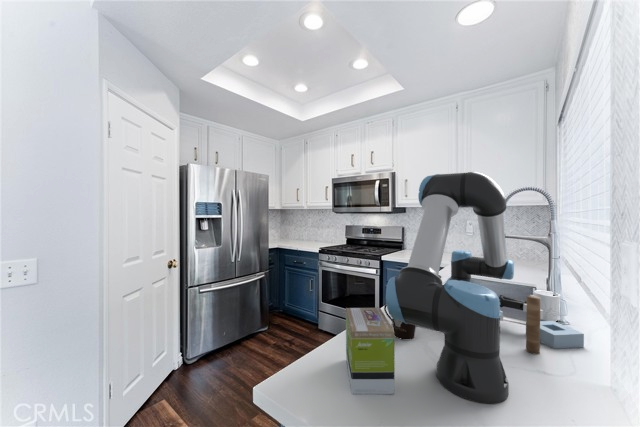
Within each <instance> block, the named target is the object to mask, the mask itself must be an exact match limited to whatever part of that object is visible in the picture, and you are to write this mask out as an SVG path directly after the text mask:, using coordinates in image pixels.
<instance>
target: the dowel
mask: <svg viewBox="0 0 640 427" xmlns="http://www.w3.org/2000/svg"><path fill="white" fill-rule="evenodd" d="M526 301H527V313H525V314H526V317H525V318H526V321H525V336H526V338H525V339H526V340H525V346H526V347H525V350H526V351H527V352H528V353H530V354H533V355H540V353H541V350H540V349H541V341H540V321H541V320H540V298H539V297H536V296H534V295H526Z"/></svg>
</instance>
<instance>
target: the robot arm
mask: <svg viewBox="0 0 640 427" xmlns="http://www.w3.org/2000/svg"><path fill="white" fill-rule="evenodd" d="M418 203H419V205H420V206H421V208H422V209H423V213H422V218H421V220H420V224H419V227H418V230H417V234H416V237H415V240H414V243H413V247H412V251H411V253H410V257H409V260H408V263H407V266H404V267H402V268H401V269H400V272H399V274H398V277H397V276H392V277H390V279H389V280H388V281H387V283H386V288H385V303H386V304H387V306H386V310H387V313H388V315H389V316H390V317H391V318H393V319H395V320H398V321H401V322H404V323H405V324H411V325H415V326H416V327H419V328H424V329H427V330H430V331H434V332H439V333H442V334H444V335H443V336H444V339H443V340H444V343H443V347H442V350H441V351H440V356H439V358H438V360H437V363H436V378H437V381H439V383H440V384H441V385H442V386H443V387H444V388H445V389H447V390H448V391H449V392H451V393H453V394H454V395H456V396H458V397H461V398H463V399H466V400H469V401H471V402H472V401H473V402H477V403H480V404H481V403H483V404H496V403H502V402H504V401H506V400H507V398H508V397H509V393H510V392H509V391H510V390H509V389H510V388H509V381H508V377H507V374H506V371H505V368H504V366H503V362H502V360H501V353H500V352H501V348H500V347H501V345H500V344H501V343H500V342H501V340H500V338H501V337H500V336H501V334H500V333H501V332H500V328H501V323H500V322H503V321H504V311H503V310H501V308H503V307H504V308H509V309H515V310H518V311H519V310H520V311H523V313H525V314H527V300H525V301H524V300H521V299H516V298H512V297H510V296H509V297H507V296H505V295H502V294H500V295H499V296H498V294H497V293H496V292H495V291H494V290H492V289H490V288H489V287H486V286H483V285H482V284H478V283H474V282H471V281H472V276H477V277H484V278H491V279H498V280H513V279H514V275H515V274H514V273H515V262H514V260H511V259H507V257H508V255H507V245H506V231H505V221H504V220H505V219H504V217H505V216H504V213H505V212H506V210H507V200H506V196H505V194H504V192H503V190H502V188H501V187H500V186H499V184H497V183H496V181H495V180H493V179H492V178H491V177H489V176H488V175H485V174H483V173H482V172H481V173H480V172H474V171H469V172H455V173H454V172H453V173H441V174H440V173H437V174H433V175H427V176H426V177H424V178H423V179H422V180H421V182H420V184H419V188H418ZM459 208H472V211H473V213H474V214H475V215H476V216H477V222H478V229H479V230H478V231H479V238H480V242H481V250H482V256H483V257H479V256H472V252H470V251H467V250H453V251H452V252H451V257H450V258H451V259H450V274H451V275H450V277H448V278H447V280H446V281H445V283H444V284H443V279H442V277H441V278H440V277H439V276H438V275H439V272H440V269H441V265H442V261H443V255H444V253H445V252H444V251H445V248H446V247H445V246H446V242H447V237H448V233H449V230H450V225H451V221H452V217H454V216H456V215H457V214H458V213H459V212H458V211H459ZM386 304H385V305H386ZM540 319H543V310H540Z"/></svg>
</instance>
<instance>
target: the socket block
mask: <svg viewBox="0 0 640 427" xmlns="http://www.w3.org/2000/svg"><path fill="white" fill-rule="evenodd" d="M584 341H585V334H584V333H583V332H580V331H578V330H575V329H573V328H571V327H568V326H566V325H564V324H561V323H558V322H555V321H543V320H540V343H543V344H545V345H547V346H548V347H551V348H552V349H564V348H565V349H567V348H568V349H570V348H584V347H585V346H584V345H585V342H584Z"/></svg>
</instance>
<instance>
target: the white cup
mask: <svg viewBox="0 0 640 427" xmlns="http://www.w3.org/2000/svg"><path fill="white" fill-rule="evenodd" d="M553 292H554V291H550V290H542V289H540V290H539V289H538V290H534V291H533V294H534V295H533V296H536V297H539V298H540V310H543V319H540V321H555V322H556V321H557V320H558V321H559V317H558V314H559V315H560V310H559V301H560V302H561V297H562V296H561V294H560V293H557V292H555V293H556V294H558V296H553Z"/></svg>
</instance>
